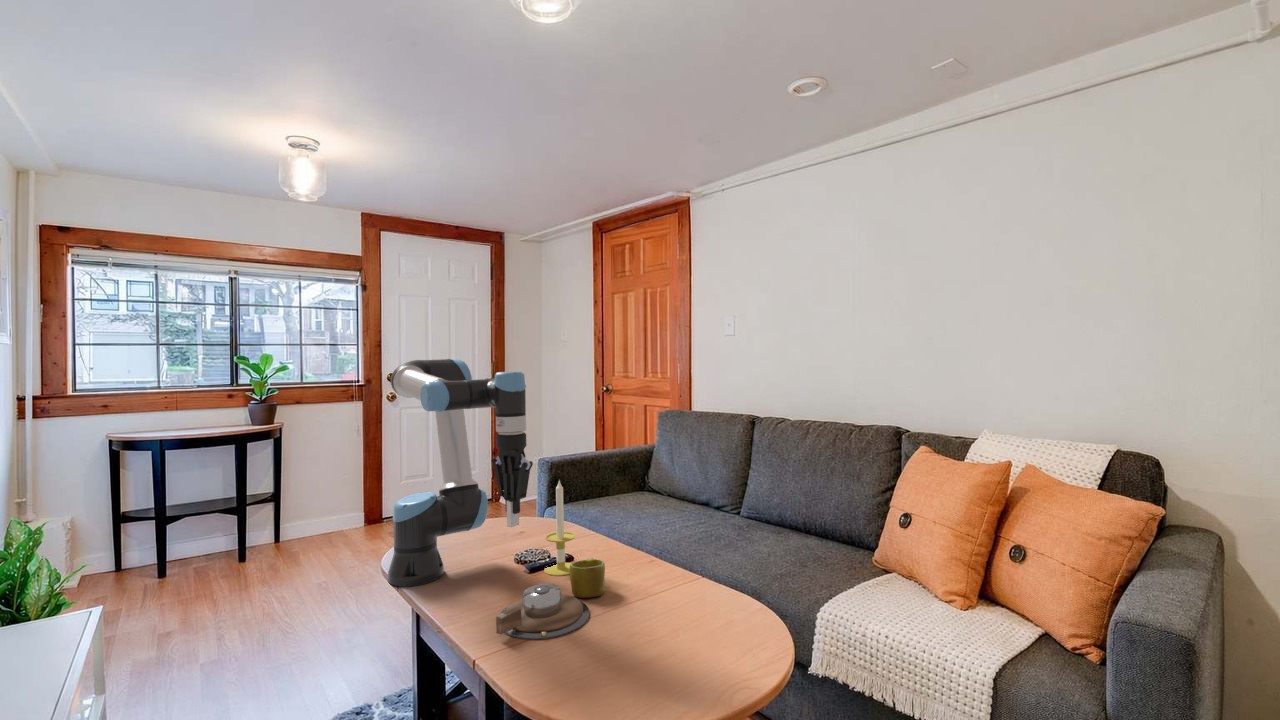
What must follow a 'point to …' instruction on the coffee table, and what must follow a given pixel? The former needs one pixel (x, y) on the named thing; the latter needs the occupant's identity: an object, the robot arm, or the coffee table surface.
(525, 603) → the cover
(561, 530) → the candle
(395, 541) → the robot arm
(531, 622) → the platter
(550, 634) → the susan base
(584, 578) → the mug
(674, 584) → the coffee table surface
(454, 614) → the coffee table surface
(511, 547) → the coffee table surface
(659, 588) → the coffee table surface
